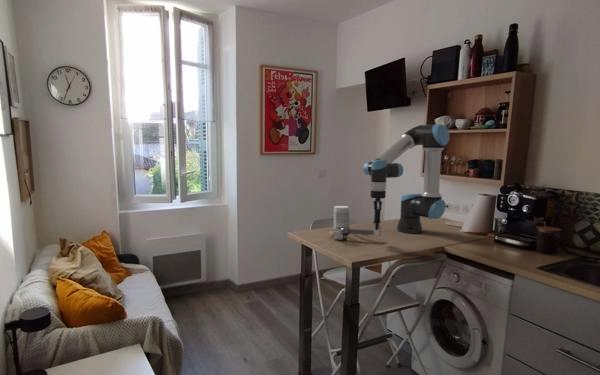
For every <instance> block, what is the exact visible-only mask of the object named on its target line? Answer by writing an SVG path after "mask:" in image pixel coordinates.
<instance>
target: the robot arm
mask: <svg viewBox="0 0 600 375" xmlns="http://www.w3.org/2000/svg"><path fill="white" fill-rule="evenodd" d="M450 139H451V138H450V131H449V129H448V128H447V126H446V125H444V124H437V123H436V124H435V123H434V124H419V125H417V126H414V127H411V128H410V129H409V130H407V131H406V132H404V133H403V134H402V135H401V136H400V137H399V139H398V140H397V141H396V142H395V143H393V144H392V145H391V146H390V147H389V148H387V149H386V150H385V151H384V152H382V153H381V154H380V155H379V156H378V157H376V158H375V159H373V160H371V161H366V162H365V163H364V164H363V166H362V167H363V168H362V170H363V173H364V174H365V175H366V176H370V177H371V178H370V183H369V186H370V189H371V190H370V198H371V199H374V200H373V210H374V214H373V215H374V219H373V220H374V221H373V222H372V224H374V226H373V230H374V235H373V236H374V237H380V236H379V230H380V226H381V224H380V223H381V222H382V221H381V212H382V211H381V210H382V206H383V201H382V199H385V198H386V195H387V194H386V193H387V192H386V190H387V179H390V178H391V179H392V178H394V179H395V178H399V177H400V178H401V176H402V175H403V173H404V167H403V165H402V164H401V163H399V162H394V161H395V160H397V159H399V157H401V156H402V155H403V154H404V153H405V152H406V151H408V149H409V150H410V149H412V148H414V147H415V146H422V149H423V150H424V169H423V171H424V172H423V173H424V174H423V191H422V193H408V194H407V193H406V194H403V195H401V197H400V199H401V200H400V218H399V220H398V224H397V225H396V231H398V232H401V233H406V234H421V233H423V226H422V221H421V217H422V218H423V217H424V218H426V219H430V220H431V219H434V220H438V219H440V218H441V217H442V216H443V215H444V213H445V211H446V207H447V206H446V201H445V200H444V199H442V198H443V196H442V194H440V185H441V184H440V180H441V178H440V177H441V162H442V161H441V160H442V152H443V150H444V149H445V146H446V145H448V143H449V142H450Z"/></svg>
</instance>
